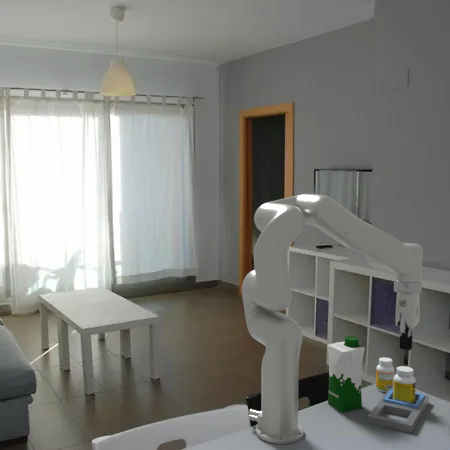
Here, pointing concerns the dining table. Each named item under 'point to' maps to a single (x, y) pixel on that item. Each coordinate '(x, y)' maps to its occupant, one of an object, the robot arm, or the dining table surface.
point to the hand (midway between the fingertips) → (405, 348)
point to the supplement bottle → (384, 374)
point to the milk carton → (345, 374)
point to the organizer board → (398, 412)
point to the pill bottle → (404, 385)
